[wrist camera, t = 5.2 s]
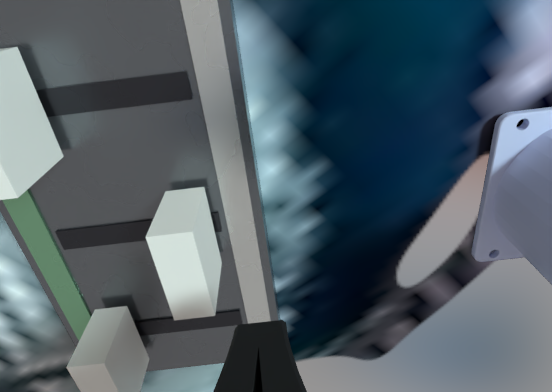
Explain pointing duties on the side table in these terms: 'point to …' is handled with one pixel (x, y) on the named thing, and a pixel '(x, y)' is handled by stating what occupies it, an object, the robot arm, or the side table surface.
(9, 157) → the block
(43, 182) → the breaker panel
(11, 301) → the side table surface
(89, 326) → the block
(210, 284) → the block
